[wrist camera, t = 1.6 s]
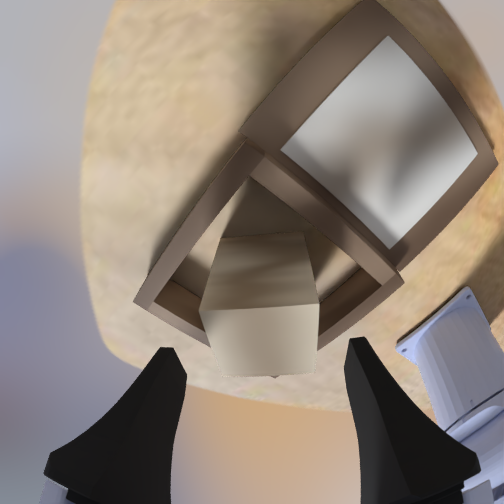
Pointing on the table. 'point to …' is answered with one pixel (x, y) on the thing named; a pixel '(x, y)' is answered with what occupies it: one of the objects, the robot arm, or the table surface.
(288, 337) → the block
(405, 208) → the brown divided tray
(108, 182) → the table surface
